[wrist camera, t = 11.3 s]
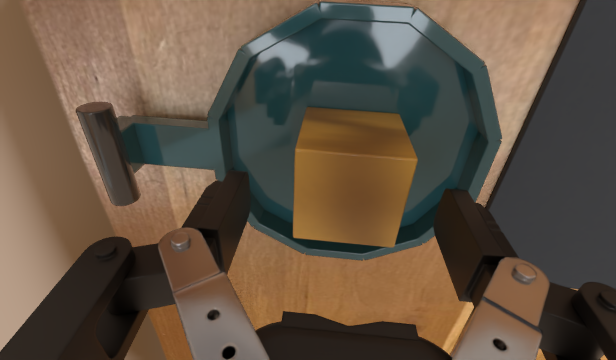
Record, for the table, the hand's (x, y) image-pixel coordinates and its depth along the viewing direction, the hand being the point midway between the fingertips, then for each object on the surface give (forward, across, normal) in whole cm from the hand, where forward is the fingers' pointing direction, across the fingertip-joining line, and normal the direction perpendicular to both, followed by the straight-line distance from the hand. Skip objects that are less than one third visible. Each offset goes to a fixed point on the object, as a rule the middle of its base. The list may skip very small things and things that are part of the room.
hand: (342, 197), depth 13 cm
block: (+4, 0, 0) cm, 4 cm away
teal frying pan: (+5, +2, 0) cm, 5 cm away
